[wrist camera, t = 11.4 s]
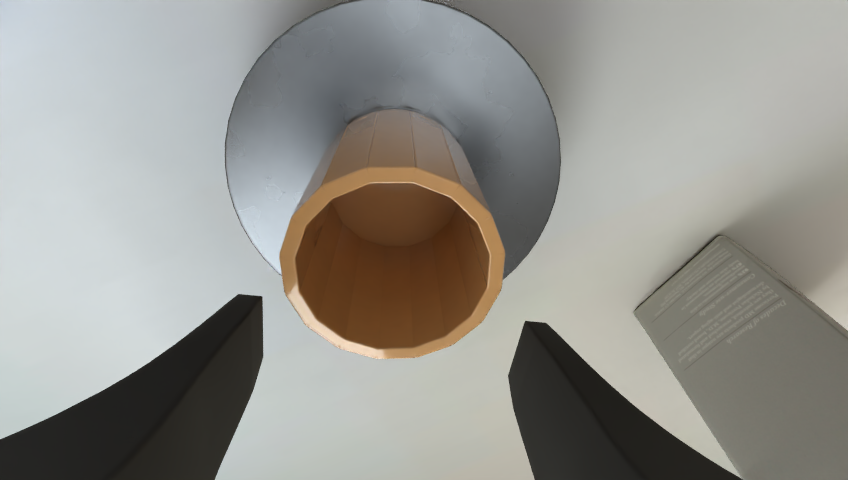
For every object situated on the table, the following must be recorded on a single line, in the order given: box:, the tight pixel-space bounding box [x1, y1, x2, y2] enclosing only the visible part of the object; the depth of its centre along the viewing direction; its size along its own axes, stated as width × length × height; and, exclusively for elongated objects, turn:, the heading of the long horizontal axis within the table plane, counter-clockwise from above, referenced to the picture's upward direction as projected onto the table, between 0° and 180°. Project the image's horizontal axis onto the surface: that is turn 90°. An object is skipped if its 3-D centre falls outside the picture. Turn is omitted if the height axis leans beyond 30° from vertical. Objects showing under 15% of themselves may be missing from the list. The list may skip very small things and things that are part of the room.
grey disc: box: [225, 0, 561, 279], centre depth 19 cm, size 13×13×4 cm
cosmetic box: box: [634, 236, 848, 480], centre depth 19 cm, size 8×7×16 cm
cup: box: [279, 109, 505, 359], centre depth 14 cm, size 6×6×6 cm
